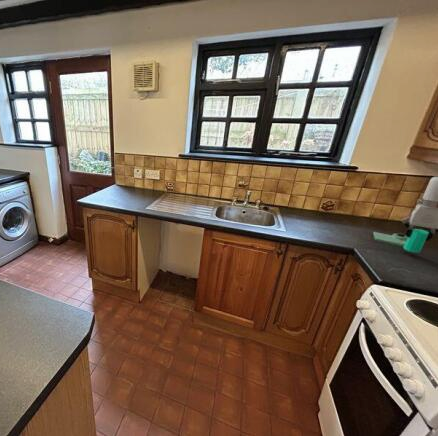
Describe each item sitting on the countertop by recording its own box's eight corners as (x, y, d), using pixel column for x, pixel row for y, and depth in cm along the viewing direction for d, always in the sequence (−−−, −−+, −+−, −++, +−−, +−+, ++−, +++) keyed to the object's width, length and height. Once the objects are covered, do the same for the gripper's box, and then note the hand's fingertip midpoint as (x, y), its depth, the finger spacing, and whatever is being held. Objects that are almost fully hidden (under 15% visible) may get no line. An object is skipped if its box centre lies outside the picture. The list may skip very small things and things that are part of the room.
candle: (417, 248, 124) (427, 227, 119) (422, 253, 119) (432, 231, 114) (401, 245, 126) (410, 224, 122) (405, 250, 122) (415, 229, 117)
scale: (404, 240, 139) (406, 235, 138) (409, 248, 130) (411, 243, 129) (372, 233, 147) (374, 229, 146) (374, 240, 138) (376, 235, 137)
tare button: (403, 236, 138) (404, 233, 138) (404, 237, 136) (405, 235, 135) (396, 234, 140) (397, 231, 139) (397, 236, 138) (398, 233, 137)
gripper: (408, 202, 116) (394, 236, 122) (463, 209, 106) (445, 245, 113) (405, 198, 121) (392, 231, 128) (457, 205, 112) (440, 240, 118)
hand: (417, 237), depth 120 cm, fingers closed on candle, 6 cm apart
